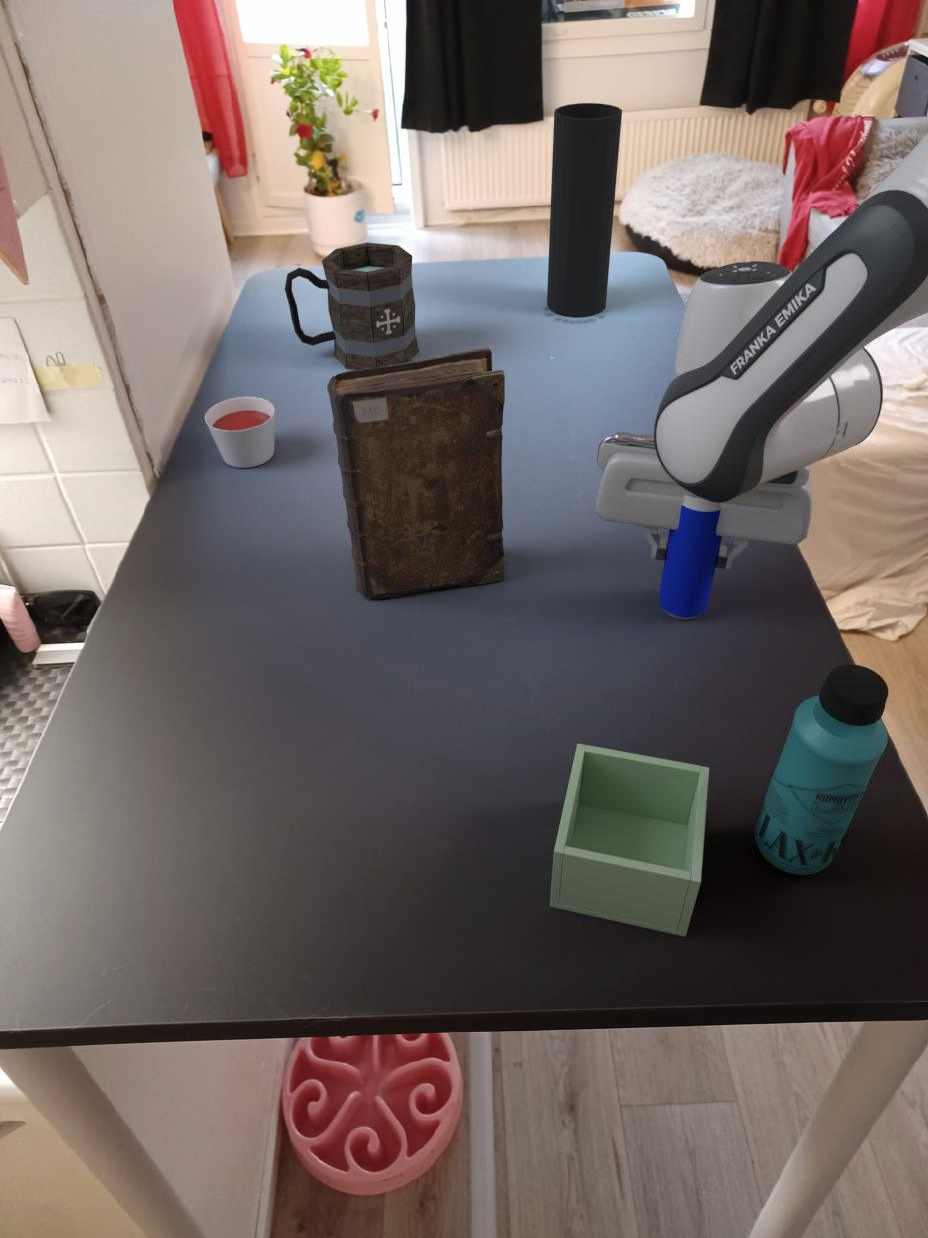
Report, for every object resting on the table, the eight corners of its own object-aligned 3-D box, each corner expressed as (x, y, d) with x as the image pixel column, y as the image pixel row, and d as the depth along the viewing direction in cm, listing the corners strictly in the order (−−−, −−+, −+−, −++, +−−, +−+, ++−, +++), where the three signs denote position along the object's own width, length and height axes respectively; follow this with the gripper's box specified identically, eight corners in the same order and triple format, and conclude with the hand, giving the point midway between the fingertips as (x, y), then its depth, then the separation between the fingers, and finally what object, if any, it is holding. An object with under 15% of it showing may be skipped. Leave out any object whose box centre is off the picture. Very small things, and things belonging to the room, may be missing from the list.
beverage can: (714, 600, 95) (739, 482, 85) (696, 628, 92) (720, 508, 82) (669, 584, 97) (688, 467, 87) (650, 611, 94) (668, 493, 84)
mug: (416, 332, 147) (410, 239, 137) (420, 369, 137) (414, 272, 127) (298, 339, 146) (283, 246, 136) (293, 377, 136) (277, 280, 126)
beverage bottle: (732, 834, 73) (785, 662, 60) (799, 809, 75) (866, 637, 62) (779, 900, 69) (848, 730, 55) (850, 872, 70) (933, 701, 57)
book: (356, 603, 96) (327, 393, 80) (352, 563, 102) (324, 359, 85) (507, 585, 98) (509, 376, 81) (496, 547, 103) (495, 343, 87)
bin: (695, 824, 74) (709, 767, 69) (685, 937, 67) (701, 882, 62) (571, 800, 76) (577, 743, 71) (549, 907, 69) (553, 851, 64)
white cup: (201, 464, 118) (190, 422, 114) (241, 433, 124) (232, 391, 120) (257, 479, 115) (248, 436, 111) (295, 445, 121) (288, 404, 117)
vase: (577, 322, 149) (589, 122, 129) (534, 305, 154) (540, 111, 134) (618, 305, 153) (636, 110, 133) (575, 288, 159) (587, 99, 139)
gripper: (594, 447, 81) (584, 565, 90) (829, 473, 77) (793, 594, 86) (604, 414, 86) (594, 529, 95) (826, 437, 82) (793, 556, 91)
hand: (690, 561), depth 91 cm, fingers closed on beverage can, 5 cm apart
